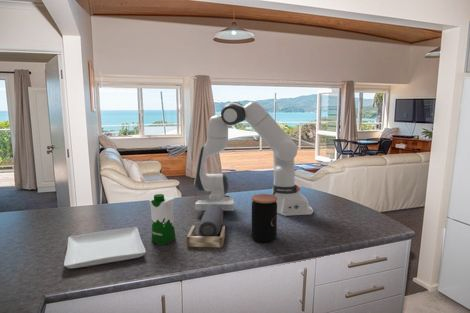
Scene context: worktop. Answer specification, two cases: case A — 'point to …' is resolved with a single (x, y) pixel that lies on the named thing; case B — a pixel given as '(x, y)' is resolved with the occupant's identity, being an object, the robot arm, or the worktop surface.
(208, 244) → the birch bay
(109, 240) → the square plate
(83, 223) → the worktop surface
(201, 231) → the bluetooth speaker
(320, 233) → the worktop surface
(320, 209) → the worktop surface
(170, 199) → the milk carton
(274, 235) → the coffee jar
